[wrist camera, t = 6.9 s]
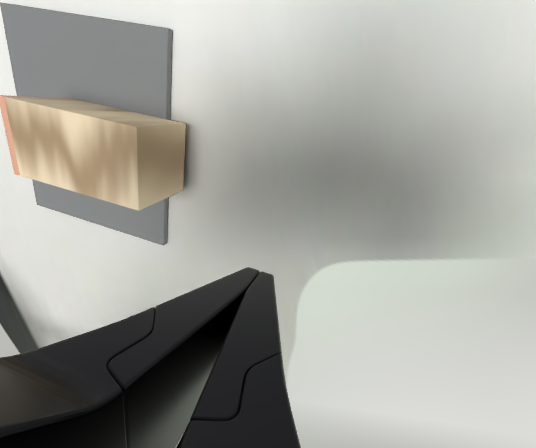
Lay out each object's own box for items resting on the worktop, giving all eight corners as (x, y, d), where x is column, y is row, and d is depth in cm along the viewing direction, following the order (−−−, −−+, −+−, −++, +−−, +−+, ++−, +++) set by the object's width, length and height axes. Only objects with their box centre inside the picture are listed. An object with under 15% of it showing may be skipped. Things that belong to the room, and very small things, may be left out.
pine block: (138, 210, 17) (14, 173, 19) (183, 190, 22) (78, 162, 24) (136, 127, 15) (-3, 95, 17) (185, 123, 20) (71, 98, 22)
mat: (166, 243, 25) (163, 245, 24) (42, 203, 28) (36, 204, 27) (172, 30, 18) (167, 28, 18) (7, 4, 21) (0, 2, 21)
